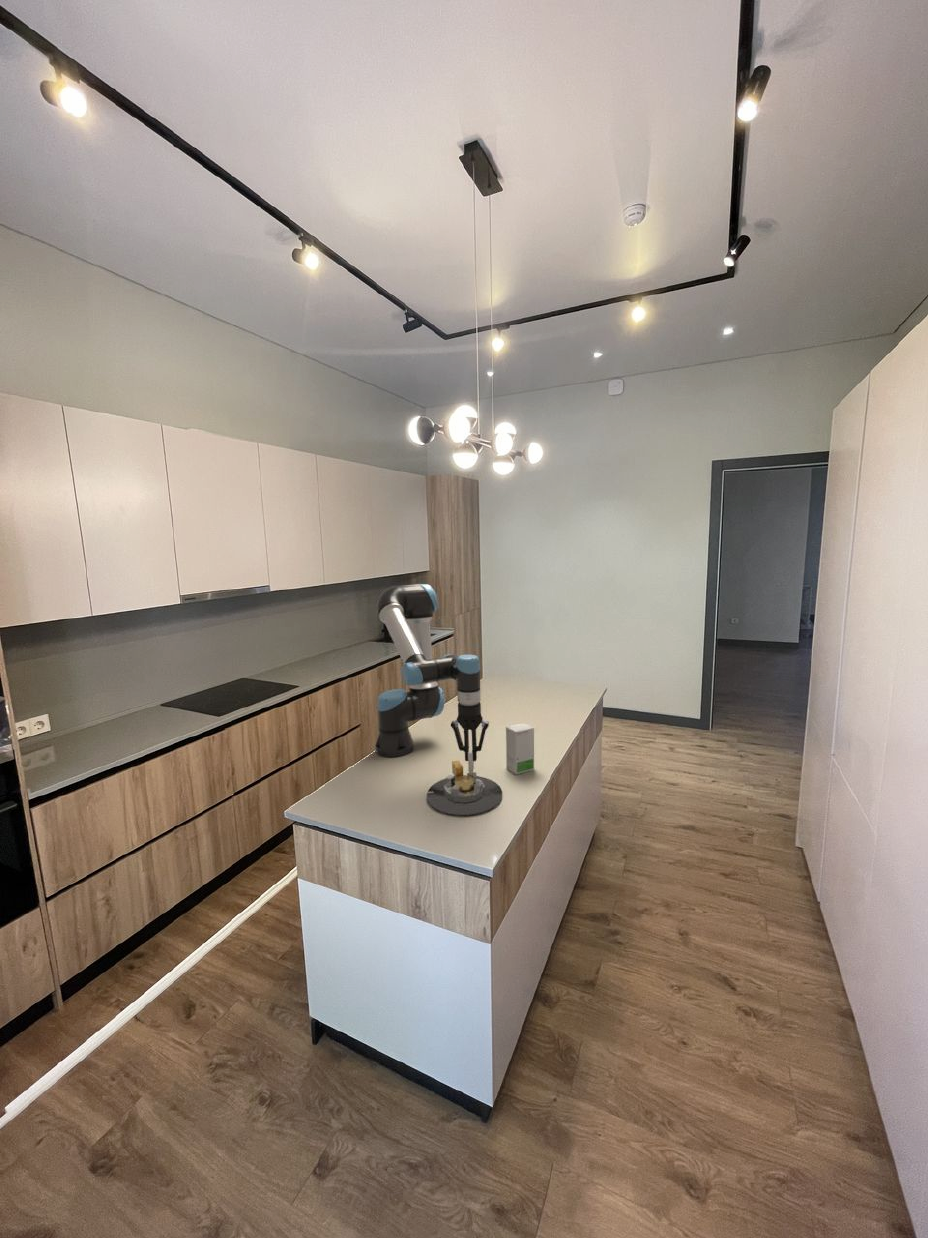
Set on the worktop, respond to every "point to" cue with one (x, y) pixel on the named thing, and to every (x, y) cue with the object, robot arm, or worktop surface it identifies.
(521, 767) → the skincare box
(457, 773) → the ring nut
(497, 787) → the bowl
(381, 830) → the worktop surface
